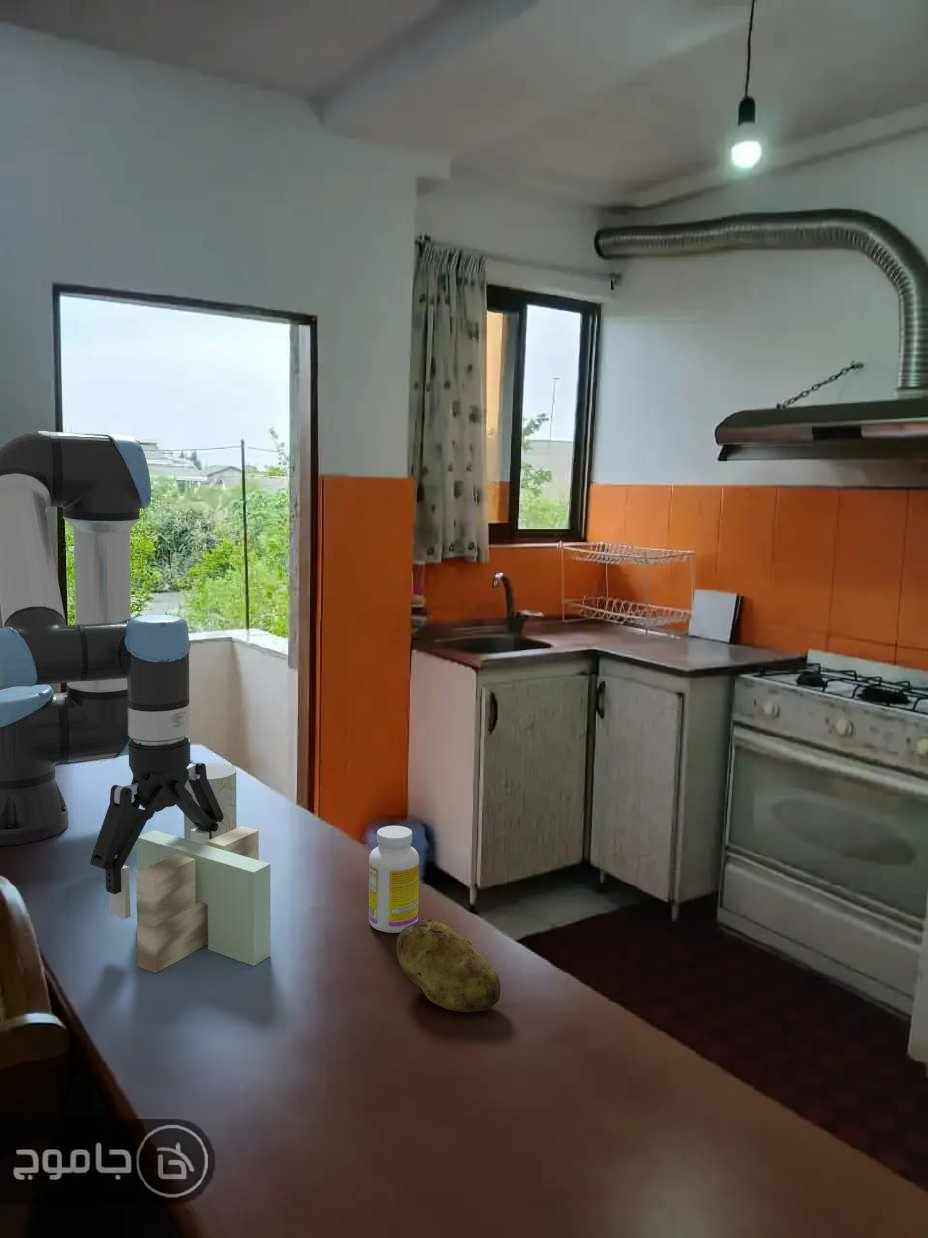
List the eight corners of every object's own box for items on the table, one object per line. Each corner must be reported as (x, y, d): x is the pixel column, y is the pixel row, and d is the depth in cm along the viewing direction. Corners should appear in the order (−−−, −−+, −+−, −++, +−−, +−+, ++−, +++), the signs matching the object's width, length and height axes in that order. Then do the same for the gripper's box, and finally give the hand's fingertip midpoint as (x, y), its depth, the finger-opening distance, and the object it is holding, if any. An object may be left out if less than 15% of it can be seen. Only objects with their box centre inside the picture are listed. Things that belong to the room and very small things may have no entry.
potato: (449, 1036, 101) (451, 966, 99) (384, 983, 111) (385, 920, 109) (508, 1011, 106) (511, 945, 104) (441, 963, 116) (443, 902, 114)
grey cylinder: (228, 853, 147) (228, 780, 145) (177, 851, 147) (176, 778, 145) (242, 834, 155) (241, 764, 153) (193, 832, 155) (192, 762, 153)
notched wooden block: (155, 973, 111) (153, 877, 109) (138, 966, 113) (135, 872, 111) (258, 915, 127) (258, 830, 125) (242, 909, 128) (241, 825, 126)
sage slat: (138, 924, 123) (136, 837, 121) (155, 915, 126) (154, 830, 124) (253, 966, 113) (253, 872, 112) (270, 955, 116) (270, 863, 114)
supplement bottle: (426, 918, 127) (429, 828, 125) (403, 939, 121) (405, 845, 119) (383, 908, 130) (385, 819, 128) (358, 927, 124) (360, 835, 122)
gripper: (98, 766, 107) (103, 941, 110) (249, 721, 128) (249, 868, 131) (55, 755, 110) (61, 925, 113) (208, 713, 132) (210, 856, 135)
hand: (162, 895), depth 122 cm, fingers open, 13 cm apart
